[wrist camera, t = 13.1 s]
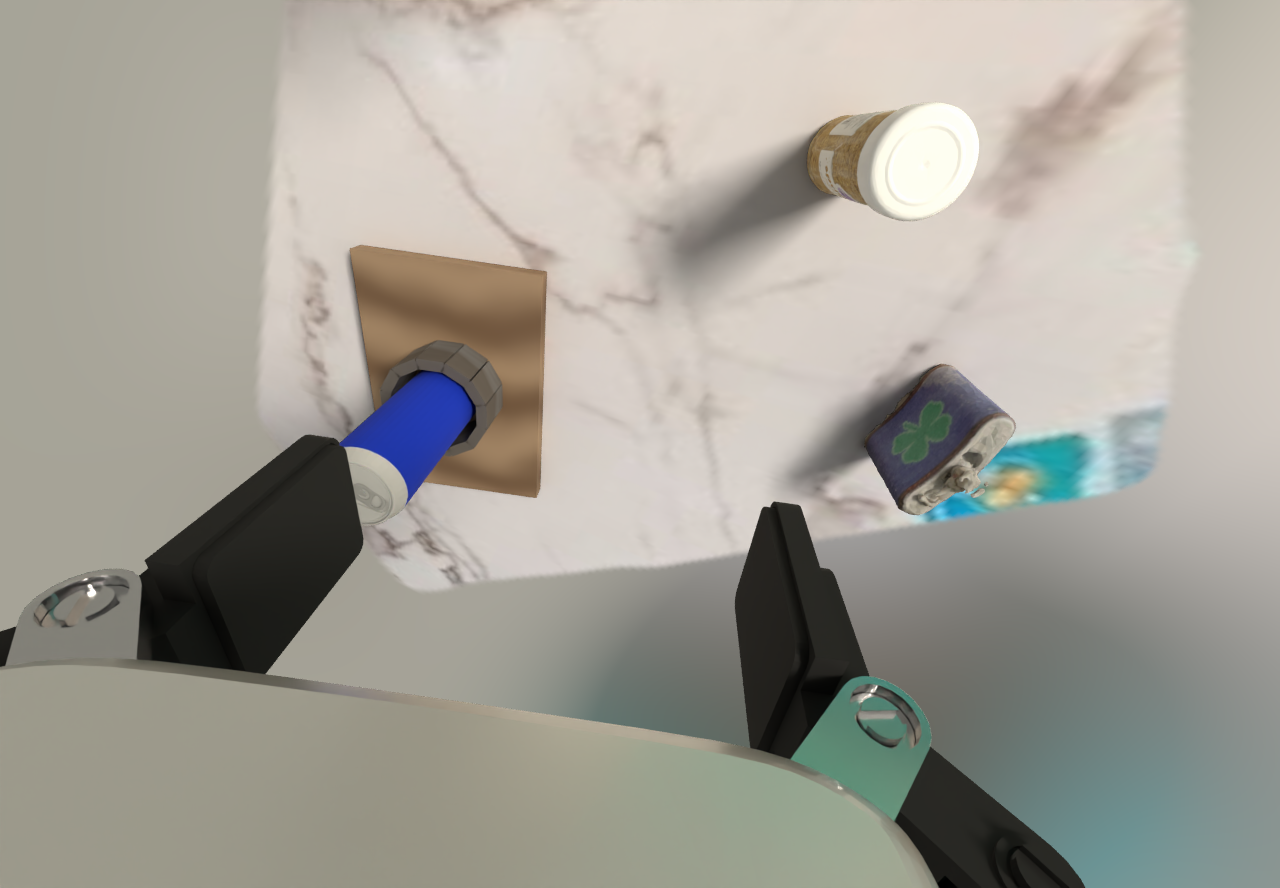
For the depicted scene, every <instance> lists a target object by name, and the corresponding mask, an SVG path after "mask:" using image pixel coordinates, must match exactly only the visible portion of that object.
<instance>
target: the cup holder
mask: <svg viewBox="0 0 1280 888" xmlns="http://www.w3.org/2000/svg"><path fill="white" fill-rule="evenodd" d="M350 254H351V260H352V267H353V273H354V280H355V286H356V292H357V299H358V305H359V312H360V318H361V325H362V331H363V337H364V344H365V350H366V357H367V363H368V370H369V376H370V383H371V389H372V395H373V402H374V408H375V411H376V410H377V409H379V408H380V407H381V406H382V405H383V404H384V403H385V402H386V401H388V400H389V399H390V398H391V397H392V396H393V395H394V394H395V393H397V392H398V391H399V390H400V389H401V388H402V387H403V386H404V385H406V384H407V383H408V382H409V381H410V380H411V379H412V378H413V377H414V376H416V375H417V374H418V373H419V372H420V371H421V370H427V371H434V372H441V373H444V374H445V375H447V376H448V377H450V378H451V379H453V380H454V381H456V382H457V383H459V384H460V385H462V386H463V387H464V388H465V390H466V391H467V393H468V395H469V396H470V398H471V399H472V401H473V403H474V404H475V406H476V413H475V414H474V415H473V417H472V418H471V419H470V421H469V422H468V423H467V425H466V426H465V427H464V429H463V430H462V431H461V433H460V434H459V435H458V437H457V438H456V439H455V441H454V442H453V443H452V445H451V446H450V447H449V449H448V450H447V451H446V453H445V454H444V455H443V457H442V458H441V459H440V460H439V462H438V463H437V464H436V466H435V467H434V468H433V470H432V471H431V472H430V474H429V475H428V476H427V478H426V479H425V480H424V482H429V483H436V484H443V485H450V486H457V487H464V488H471V489H478V490H485V491H491V492H498V493H505V494H512V495H519V496H526V497H533V498H537V495H538V493H539V490H540V479H541V446H542V413H543V380H544V347H545V314H546V281H547V272H545V271H538V270H532V269H525V268H518V267H511V266H504V265H497V264H490V263H483V262H476V261H469V260H462V259H455V258H448V257H441V256H434V255H427V254H420V253H413V252H406V251H399V250H392V249H385V248H378V247H371V246H364V245H359V246H356V247H353V248H350Z"/></svg>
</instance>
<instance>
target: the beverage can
mask: <svg viewBox="0 0 1280 888" xmlns="http://www.w3.org/2000/svg"><path fill="white" fill-rule="evenodd" d="M475 413H476V406H475V404H474V403H473V401H472V399H471V398H470V396H469V395H468V393H467V391H466V390H465V388H464V387H463V386H462V385H460V384H459V383H457V382H456V381H454V380H453V379H451V378H450V377H448V376H447V375H445V374H444V373H441V372H434V371H427V370H421V371H420V372H419V373H418V374H417V375H416V376H414V377H413V378H412V379H411V380H410V381H409V382H408V383H407V384H406V385H404V386H403V387H402V388H401V389H400V390H399V391H398V392H397V393H395V394H394V395H393V396H392V397H391V398H390V399H389V400H388V401H386V402H385V403H384V404H383V405H382V406H381V407H380V408H379V409H377V410H376V411H375V412H374V413H373V414H372V415H371V416H370V417H368V418H367V419H366V420H365V421H364V422H363V423H362V424H361V425H359V426H358V427H357V428H356V429H355V430H354V431H353V432H352V433H350V434H349V435H348V436H347V437H346V438H345V439H344V440H343V441H341V442H340V443H339V444H340V446H343V447H344V448H345V449H346V452H347V457H348V462H349V467H350V472H351V477H352V482H353V488H354V493H355V498H356V503H357V508H358V513H359V518H360V523H361V525H363V526H372V525H377V524H380V523H383V522H385V521H386V520H388V519H390V518H391V517H393V516H395V515H397V514H398V513H399V512H401V511H402V510H403V508H404V507H405V506H406V504H407V503H408V502H409V500H410V499H411V498H412V496H413V495H414V494H415V492H416V491H417V490H418V488H419V487H420V486H421V484H422V483H423V482H424V480H425V479H426V478H427V476H428V475H429V474H430V472H431V471H432V470H433V468H434V467H435V466H436V464H437V463H438V462H439V460H440V459H441V458H442V457H443V455H444V454H445V453H446V451H447V450H448V449H449V447H450V446H451V445H452V443H453V442H454V441H455V439H456V438H457V437H458V435H459V434H460V433H461V431H462V430H463V429H464V427H465V426H466V425H467V423H468V422H469V421H470V419H471V418H472V417H473V415H474V414H475Z"/></svg>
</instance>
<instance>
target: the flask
mask: <svg viewBox="0 0 1280 888" xmlns="http://www.w3.org/2000/svg"><path fill="white" fill-rule="evenodd" d="M919 380H921V381H920V383H919V384H918V385H917V386H916V387H915V388H914V389H913V390H911V391H910V392H909V393H907V394H906V395H905V396H904V397H903V398H901V400H900V402H898V404H897V405H896V406H897V407H896V409H895V411H894V413H892V414H891V415H887V417H886V419H885V421H884V422H883V423H882V424H880V425H877V427H876V428H875V429H874V430H873V431H872V432H871V433H870V434H869V435H867V436H866V439H865V447H866V449H867V451H868V454H869V456H870V457H871V459H872V461H873V463H874V464H875V466H876V468H877V470H878V472H879V474H880V475H881V477H882V478H883V480H884V482H885V484H886V486H887V488H888V489H889V492H890V493H891V495H892V497H893V499H894V500H895V502H896V505H897V506H898V508H899V509H900V510H902V511H904V512H906V513H908V514H911V515H920V514H923V513H926V512H928V511H929V510H931V509H933V508H934V507H935V506H936V505H938V504H939V503H941V502H943V501H944V500H946V499H948V498H949V497H951V496H952V495H953V494H955V493H958V492H963V491H964V490H966V492H965V493H969V492H970V491H973V489H974V488H977V487H978V486H979V484H980V483H981V482H980V480H979V479H978V477H977V475H978V473H979V472H980V471H981V470H982V469H983V468H984V467H985V466H986V465H987V464H988V463H990V461H991V460H992V459H993V458H994V456H995V455H996V454H997V453H998V452H999V451H1000V450H1001V449H1002V448H1003V447H1004V446H1005V444H1006V443H1007V441H1008V440H1009V439H1010V438H1011V437H1012V435H1013V433H1014V431H1015V422H1014V420H1013V419H1012V418H1011V417H1010V416H1009V415H1008V414H1007V413H1006V412H1005V411H1003V410H1002V409H1001V408H1000V407H999V406H997V405H996V404H995V403H994V402H993V401H992V400H990V399H989V398H988V397H987V396H986V395H984V394H983V393H982V392H981V391H980V390H979V389H977V388H976V387H975V386H974V385H973V384H972V383H971V382H970V381H969V380H967V379H966V378H965V377H964V376H963V375H962V374H961V373H960V372H959V371H958V370H957V369H955V368H954V367H953V366H950V365H945V364H940V365H938V366H936V367H934V368H933V369H931V370H929V371H928V372H927V373H926V374H925V375H923V376H922V377H921V378H920V379H919ZM984 485H985V486H986V487H987V486H988V485H989V484H988V482H986V483H985V484H984ZM983 493H984V489H978V490H977V491H976V492H975V493H973V494H971V497H973V498H975V497H977V496H980V495H981V494H983Z"/></svg>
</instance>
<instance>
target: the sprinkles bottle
mask: <svg viewBox="0 0 1280 888" xmlns="http://www.w3.org/2000/svg"><path fill="white" fill-rule="evenodd" d="M978 152H979V141H978V135H977V132H976V129H975V126H974V124H973V122H972V121H971V119H970V118H969V117H968V115H967V114H965V113H964V112H963V111H962V110H961V109H959V108H957V107H955V106H953V105H950V104H946V103H920V104H914V105H910V106H906V107H904V108H901V109H899V110H891V111H883V112H875V113H867V114H860V115H855V116H853V115H852V116H850V115H846V116H841V117H838V118H836V119H834V120H832V121H830V122H828V123H827V124H826V125H825V126H824V127H823V128H821V129H820V130H819V132H818V133H817V134H816V136H815V137H814V139H813V140H812V142H811V144H810V147H809V150H808V155H807V169H808V173H809V176H810V178H811V180H812V182H813V183H814V184H815V185H816V186H817V188H818V189H819V190H821V191H823V192H825V193H828V194H832V195H837V196H839V197H842V198H845V199H849V200H851V201H854V202H857V203H860V204H864V205H868V206H869V207H870V208H872V209H873V210H874V211H876V212H877V213H879V214H882V215H884V216H886V217H889V218H892V219H896V220H901V221H917V220H921V219H925V218H928V217H931V216H933V215H935V214H937V213H939V212H940V211H942V210H944V209H945V208H946V207H948V206H949V205H950V204H951V203H952V202H954V201H955V200H956V199H957V197H958V196H959V195H960V194H961V193H962V192H963V190H964V189H965V188H966V186H967V184H968V183H969V181H970V179H971V177H972V175H973V172H974V170H975V167H976V164H977V159H978Z"/></svg>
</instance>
